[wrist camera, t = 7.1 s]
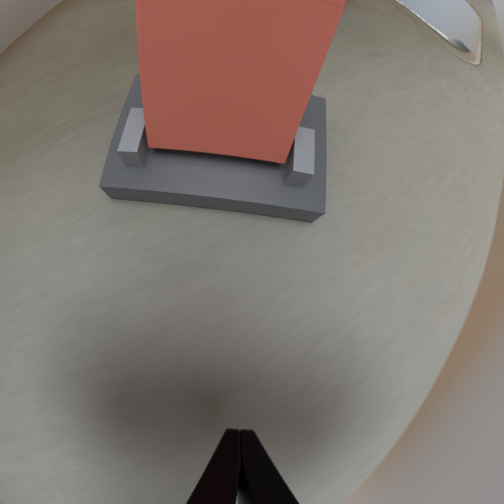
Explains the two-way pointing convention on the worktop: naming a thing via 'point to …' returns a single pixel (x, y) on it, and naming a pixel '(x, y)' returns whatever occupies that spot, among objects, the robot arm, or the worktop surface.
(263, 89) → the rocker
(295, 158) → the grey holder stand
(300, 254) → the worktop surface
